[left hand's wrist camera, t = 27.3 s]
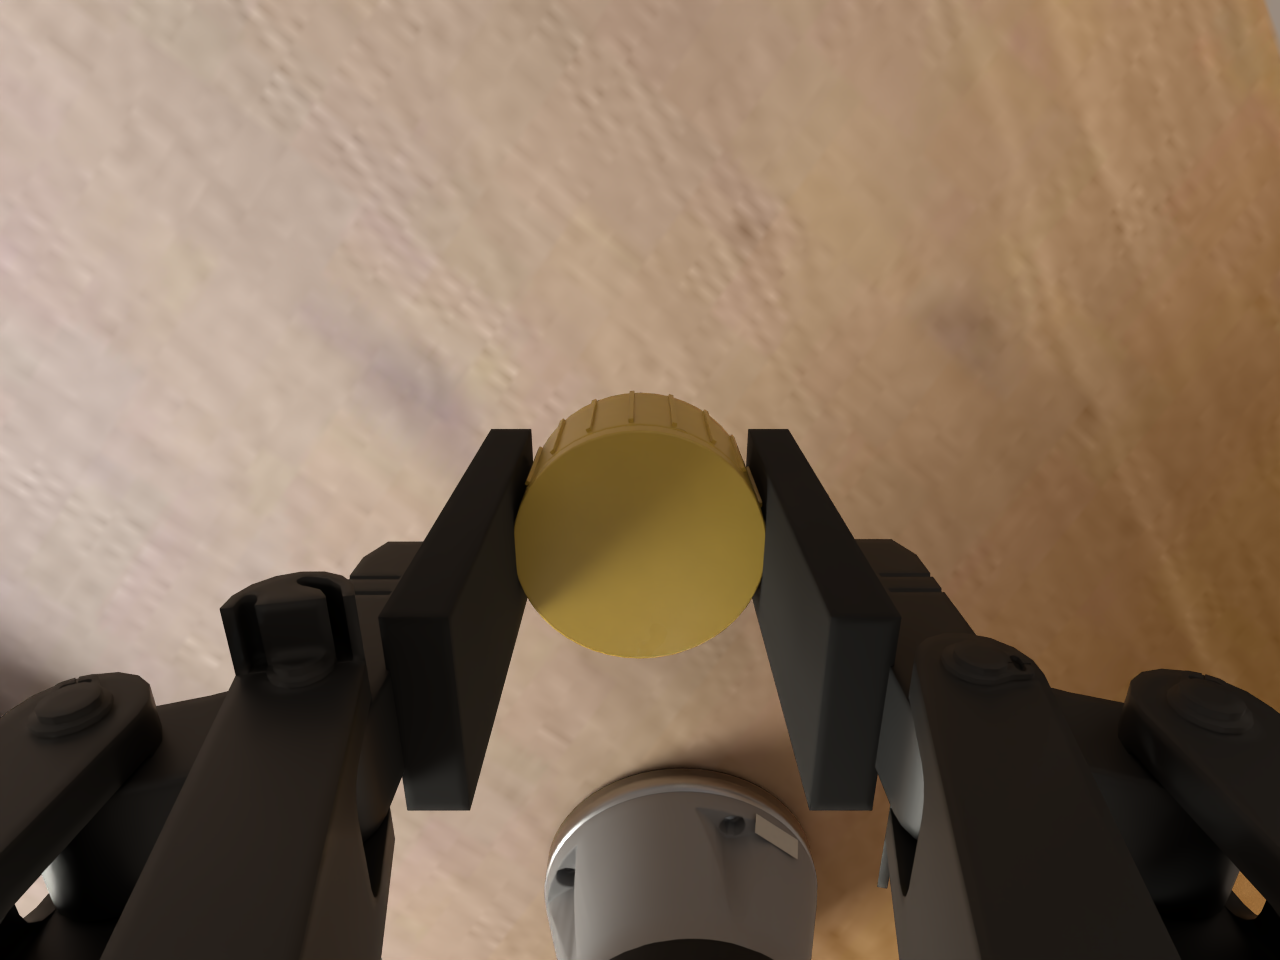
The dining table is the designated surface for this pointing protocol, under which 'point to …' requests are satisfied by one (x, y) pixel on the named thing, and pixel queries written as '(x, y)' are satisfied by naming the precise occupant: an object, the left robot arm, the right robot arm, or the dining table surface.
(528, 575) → the cap
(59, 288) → the dining table surface
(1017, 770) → the left robot arm
